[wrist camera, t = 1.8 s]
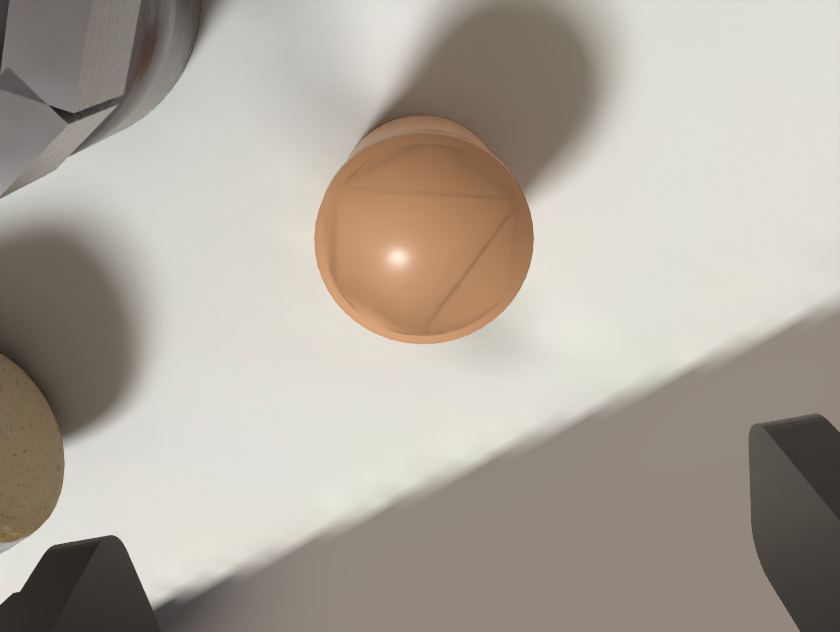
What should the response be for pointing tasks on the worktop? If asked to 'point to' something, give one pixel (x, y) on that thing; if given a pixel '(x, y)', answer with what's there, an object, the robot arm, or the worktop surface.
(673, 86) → the worktop surface
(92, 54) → the canister
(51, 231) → the worktop surface
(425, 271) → the cap
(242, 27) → the worktop surface
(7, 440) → the ceramic mug
